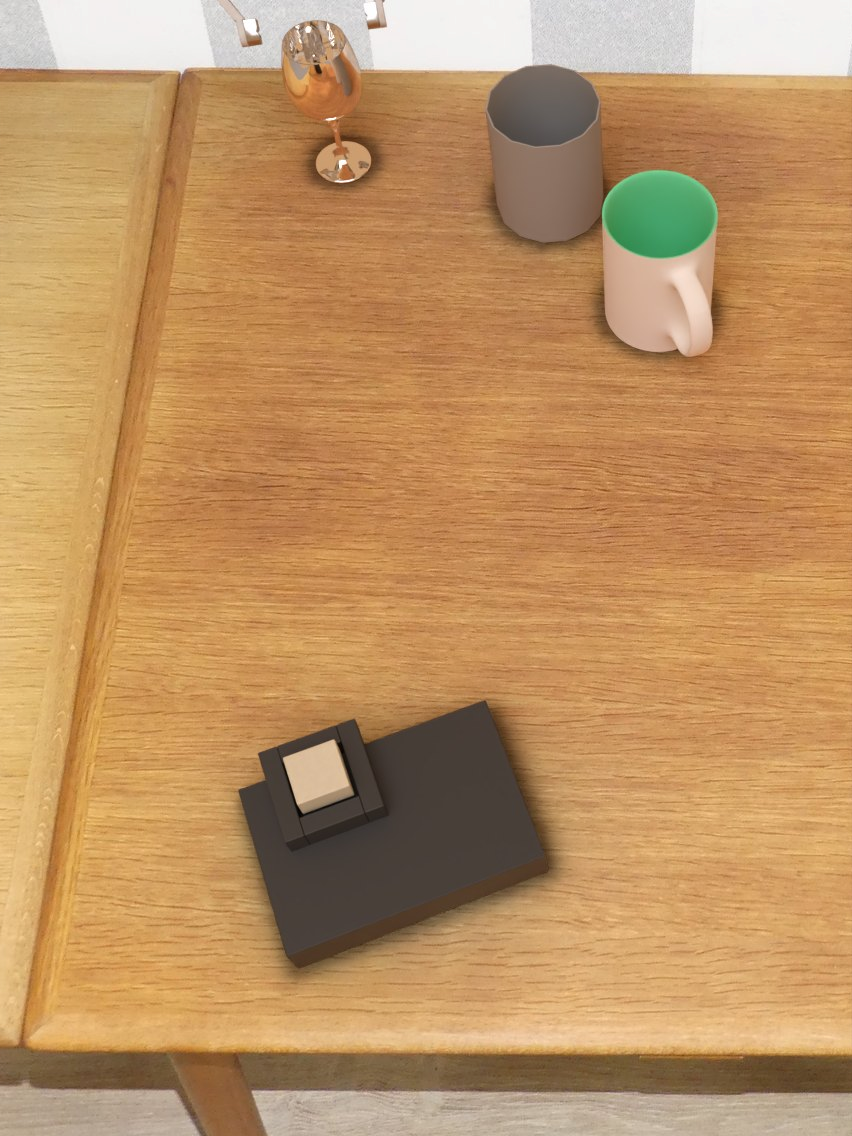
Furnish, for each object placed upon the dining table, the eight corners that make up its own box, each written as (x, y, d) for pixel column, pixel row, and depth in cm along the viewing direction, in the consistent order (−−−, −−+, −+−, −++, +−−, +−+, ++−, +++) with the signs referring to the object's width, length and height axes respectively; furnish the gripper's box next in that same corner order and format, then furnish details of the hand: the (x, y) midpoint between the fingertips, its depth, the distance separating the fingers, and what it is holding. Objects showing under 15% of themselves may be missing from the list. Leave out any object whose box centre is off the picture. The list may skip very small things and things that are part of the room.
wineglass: (392, 169, 115) (368, 49, 104) (329, 200, 113) (298, 82, 103) (356, 125, 117) (328, 4, 106) (294, 155, 116) (259, 35, 105)
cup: (564, 258, 111) (558, 164, 102) (477, 214, 113) (463, 118, 104) (622, 188, 114) (621, 92, 105) (537, 147, 116) (529, 48, 107)
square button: (355, 795, 86) (349, 785, 85) (303, 814, 86) (297, 805, 84) (339, 749, 87) (334, 738, 86) (288, 767, 87) (282, 757, 85)
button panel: (548, 871, 89) (544, 846, 84) (298, 969, 86) (279, 949, 81) (484, 704, 94) (477, 673, 89) (245, 792, 91) (225, 764, 86)
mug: (753, 367, 107) (765, 275, 97) (656, 406, 105) (658, 316, 96) (681, 253, 111) (685, 155, 102) (587, 289, 110) (582, 193, 100)
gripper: (119, -157, 100) (168, 53, 104) (411, -194, 102) (448, 14, 106) (135, -140, 106) (182, 59, 110) (411, -174, 108) (446, 21, 112)
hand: (315, 36), depth 108 cm, fingers open, 8 cm apart
